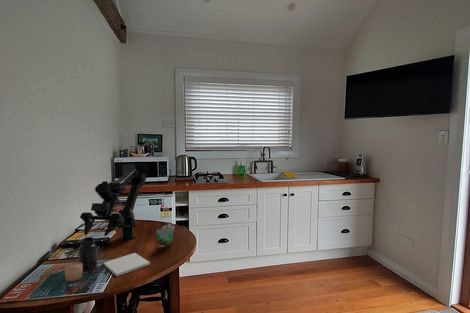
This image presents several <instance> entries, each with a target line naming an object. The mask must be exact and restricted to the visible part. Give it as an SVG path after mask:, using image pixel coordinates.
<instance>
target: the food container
mask: <svg viewBox="0 0 470 313" xmlns="http://www.w3.org/2000/svg"><path fill="white" fill-rule="evenodd" d="M174 230H175V225H174V223H173V222H169V221H167V222H166V224H165V225H163V226H161V227H160V228H157V229H156V235H157V249H167V248H170V247H172V246H173V244H174V243H173V240H174V238H173V237H174Z"/></svg>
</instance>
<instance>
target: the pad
mask: <svg viewBox="0 0 470 313" xmlns="http://www.w3.org/2000/svg"><path fill="white" fill-rule="evenodd" d="M150 264H151V262H150V261H149V260H148V259H146V258H144V257H142V255H139V254H138V253H136V252H133V253H129V254H127V255H124V256H120V257H117V258H114V259H112V260H108V261H105V262H103V266H104V267H105V268H106V269H108V271H109V272H111V273H112V274H114V276H116V277H119V276H121V275H125V274H127V273H131V272H133V271H136V270H138V269H142V268H144V267H147V266H149V265H150Z"/></svg>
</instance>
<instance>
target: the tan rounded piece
mask: <svg viewBox="0 0 470 313" xmlns="http://www.w3.org/2000/svg"><path fill="white" fill-rule="evenodd" d="M83 277H84V270H83V264H82V262H79V261H73V262H71V263H70V262H69V263H67V264H66V265H65V266H64V281H65V280H66V281H65V282H67V281H73V282H76V281H75V280H77V281H79V280H81V279H83ZM80 278H81V279H80ZM78 279H79V280H78Z"/></svg>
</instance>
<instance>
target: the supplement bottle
mask: <svg viewBox="0 0 470 313" xmlns="http://www.w3.org/2000/svg"><path fill="white" fill-rule="evenodd" d="M77 251H78V260H79V261H78V262H82V264H83V271H89V270H92V269H94V268H96V267H97V266H98V262H99V261H98V246H97V244H96V243H95V240H94V237H90V236H89V237H83V238H82V239H80V246H79V247H78V250H77Z"/></svg>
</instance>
